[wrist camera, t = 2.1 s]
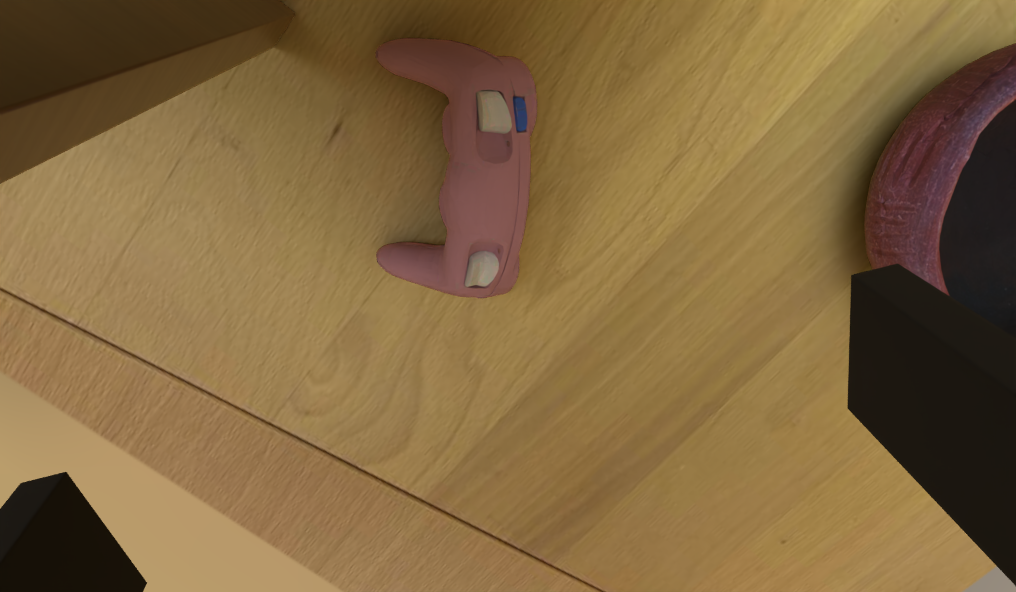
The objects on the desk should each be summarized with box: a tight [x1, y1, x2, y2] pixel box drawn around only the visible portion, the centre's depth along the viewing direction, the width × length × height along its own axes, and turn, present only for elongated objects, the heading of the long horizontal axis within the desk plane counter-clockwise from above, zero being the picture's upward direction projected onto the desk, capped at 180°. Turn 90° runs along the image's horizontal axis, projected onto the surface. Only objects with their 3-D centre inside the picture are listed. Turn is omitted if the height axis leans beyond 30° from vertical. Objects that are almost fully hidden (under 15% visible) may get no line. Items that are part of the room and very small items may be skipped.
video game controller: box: [375, 38, 537, 298], centre depth 25 cm, size 10×5×7 cm, turn 175°
